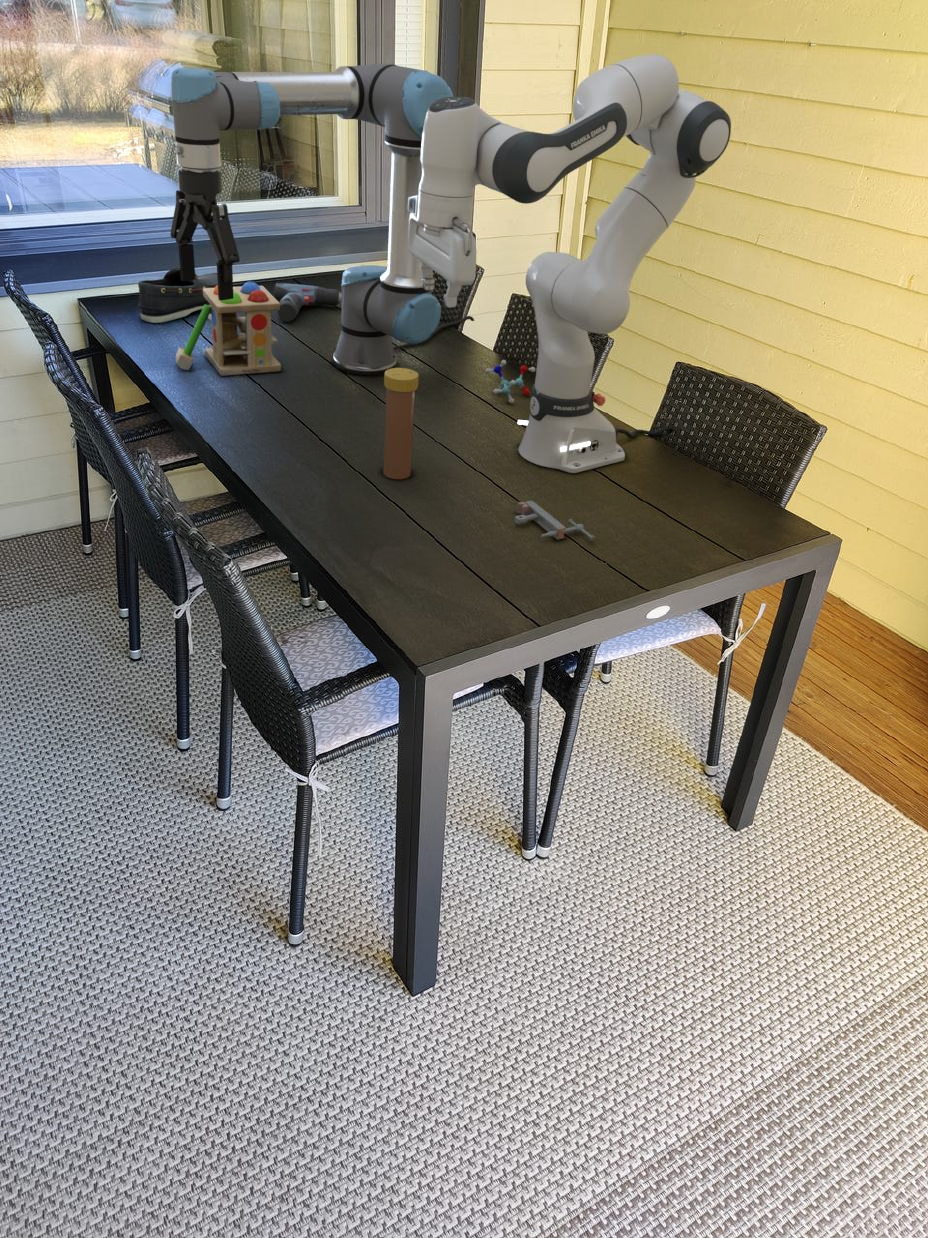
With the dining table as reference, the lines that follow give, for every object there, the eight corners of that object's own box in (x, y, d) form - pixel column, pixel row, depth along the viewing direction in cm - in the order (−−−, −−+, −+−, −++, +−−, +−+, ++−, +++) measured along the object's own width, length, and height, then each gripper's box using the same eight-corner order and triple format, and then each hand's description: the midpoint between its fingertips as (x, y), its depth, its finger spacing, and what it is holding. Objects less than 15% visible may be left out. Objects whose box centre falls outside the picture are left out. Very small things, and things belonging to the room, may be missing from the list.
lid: (415, 379, 184) (416, 367, 183) (420, 392, 179) (421, 380, 178) (382, 379, 183) (382, 367, 182) (385, 391, 178) (386, 379, 176)
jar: (408, 467, 194) (414, 371, 183) (412, 479, 189) (418, 381, 178) (381, 467, 193) (385, 370, 182) (384, 479, 188) (388, 381, 177)
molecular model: (531, 395, 220) (517, 352, 219) (493, 409, 224) (479, 367, 222) (543, 394, 231) (530, 352, 229) (507, 407, 234) (494, 366, 233)
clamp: (504, 504, 179) (549, 495, 183) (503, 515, 180) (548, 506, 184) (550, 543, 168) (597, 532, 173) (548, 554, 169) (595, 543, 174)
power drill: (335, 306, 256) (344, 285, 273) (264, 300, 255) (277, 279, 272) (335, 327, 259) (344, 304, 276) (264, 320, 258) (277, 299, 275)
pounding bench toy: (183, 379, 220) (176, 299, 210) (169, 357, 231) (162, 280, 221) (282, 371, 230) (280, 294, 220) (264, 350, 240) (262, 276, 230)
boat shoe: (248, 301, 272) (246, 262, 267) (158, 325, 248) (153, 283, 243) (214, 293, 278) (211, 255, 272) (123, 315, 254) (117, 274, 248)
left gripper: (145, 155, 179) (155, 274, 191) (217, 183, 164) (224, 310, 176) (182, 153, 183) (190, 269, 195) (256, 180, 169) (260, 304, 181)
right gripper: (490, 226, 151) (481, 315, 159) (438, 196, 166) (432, 279, 174) (452, 226, 149) (445, 317, 157) (403, 196, 164) (399, 280, 172)
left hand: (206, 289), depth 186 cm, fingers open, 13 cm apart
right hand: (438, 297), depth 165 cm, fingers open, 8 cm apart
